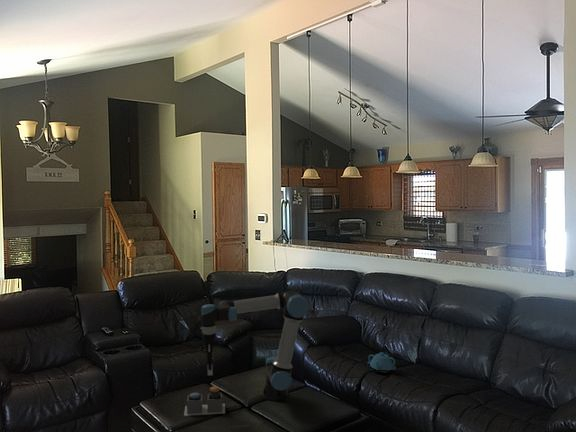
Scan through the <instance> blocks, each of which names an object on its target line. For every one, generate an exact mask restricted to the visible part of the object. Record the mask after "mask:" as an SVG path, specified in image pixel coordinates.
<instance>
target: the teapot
mask: <svg viewBox="0 0 576 432" xmlns="http://www.w3.org/2000/svg"><path fill="white" fill-rule="evenodd" d="M371 357H372V358H371ZM395 363H396V359H395V358H393V357H390V356H389V355H388V354H385V353H384V352H379V353H376V354H375V355H374V354H370V355H368V362H367V363H366V364H370V366H371V367H372V368H374V369H376V370H392V371H396V370H397V367H396V364H395ZM370 366H369V367H370Z"/></svg>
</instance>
